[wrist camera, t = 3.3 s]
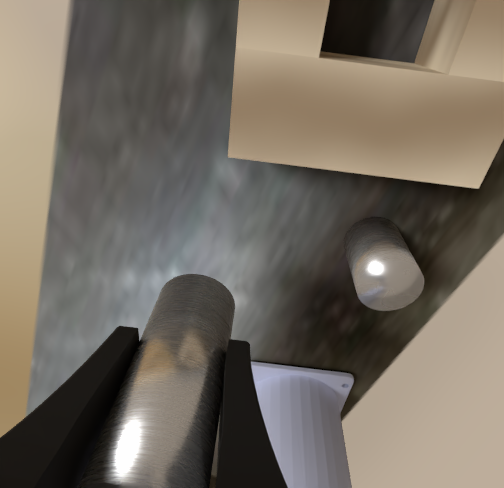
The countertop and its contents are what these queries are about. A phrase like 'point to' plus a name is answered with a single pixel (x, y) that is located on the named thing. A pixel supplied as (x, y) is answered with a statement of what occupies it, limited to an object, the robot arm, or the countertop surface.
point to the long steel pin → (169, 394)
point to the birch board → (370, 95)
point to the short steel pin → (382, 265)
